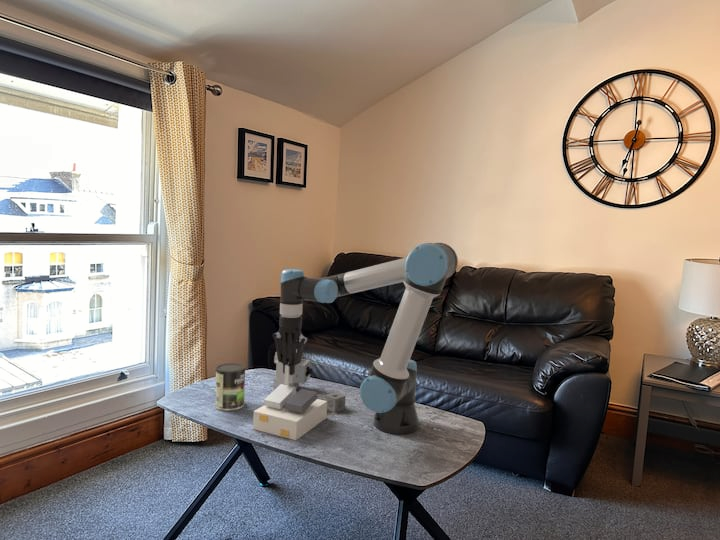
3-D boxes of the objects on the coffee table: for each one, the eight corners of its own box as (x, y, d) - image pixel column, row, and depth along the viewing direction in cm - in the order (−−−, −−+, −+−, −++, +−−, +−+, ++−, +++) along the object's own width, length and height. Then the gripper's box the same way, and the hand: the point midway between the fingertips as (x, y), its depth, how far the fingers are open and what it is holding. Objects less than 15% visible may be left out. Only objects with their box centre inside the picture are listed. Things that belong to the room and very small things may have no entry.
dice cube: (325, 408, 179) (326, 395, 178) (335, 405, 182) (336, 392, 182) (334, 412, 175) (335, 399, 175) (344, 409, 179) (345, 396, 178)
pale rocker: (296, 393, 168) (295, 387, 167) (280, 409, 159) (279, 403, 159) (281, 390, 170) (280, 383, 170) (264, 405, 162) (264, 399, 161)
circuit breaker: (307, 393, 192) (309, 356, 191) (273, 389, 195) (274, 352, 194) (313, 387, 200) (314, 351, 198) (280, 383, 203) (281, 347, 201)
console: (326, 417, 170) (327, 397, 169) (295, 440, 152) (296, 418, 151) (286, 408, 177) (287, 389, 176) (252, 429, 158) (253, 407, 157)
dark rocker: (317, 398, 165) (317, 392, 164) (301, 413, 156) (301, 406, 155) (301, 395, 167) (301, 388, 167) (285, 409, 158) (285, 402, 158)
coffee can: (249, 402, 180) (251, 365, 179) (234, 412, 171) (235, 373, 169) (225, 398, 183) (226, 361, 182) (208, 408, 174) (209, 369, 172)
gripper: (313, 316, 167) (310, 383, 169) (280, 311, 172) (278, 376, 174) (301, 319, 160) (299, 390, 162) (268, 314, 165) (266, 382, 168)
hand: (288, 383), depth 168 cm, fingers closed
